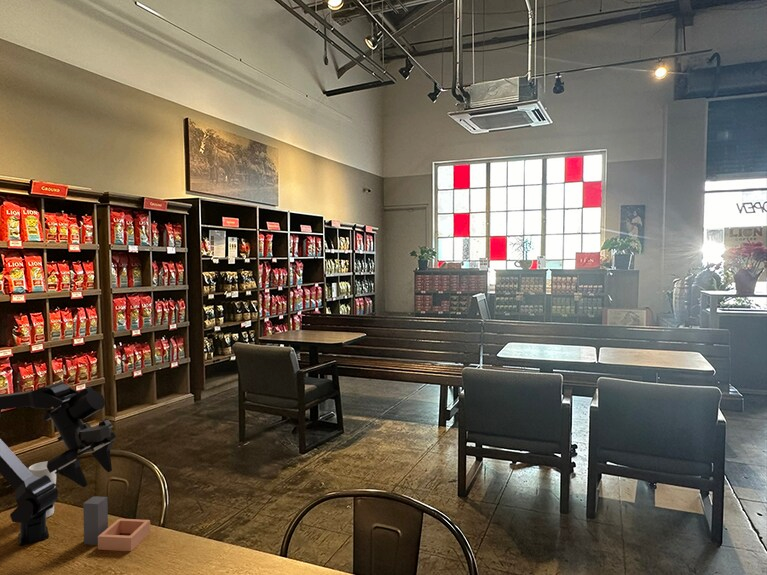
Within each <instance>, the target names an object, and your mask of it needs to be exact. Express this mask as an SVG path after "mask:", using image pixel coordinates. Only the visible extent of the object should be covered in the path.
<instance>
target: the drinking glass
mask: <svg viewBox="0 0 767 575" xmlns="http://www.w3.org/2000/svg"><path fill="white" fill-rule="evenodd" d="M48 461H49V460H47V461H42V462H37V463H33V464H32V465H30V466H29V467H27V469H28V470H29V471H30V472H31V473H32V474H33V475H34V476H36V477H39V478H41V477H42V476H44V475H47V476H48V477H49V478H50V480H51V481H52V482H53V483H54V484H56V486H57V474H55V472H56V471H57V470H55V471H53V472H51V473H50V472H49V470H48V469H47V462H48ZM56 486H55V487H56ZM56 488H57V487H56ZM54 512H55V504H54V505H53V508H50V509H49V510H47V511H46V519H48V518H49V517H51V516H53V514H54Z"/></svg>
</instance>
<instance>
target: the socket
mask: <svg viewBox="0 0 767 575" xmlns="http://www.w3.org/2000/svg"><path fill="white" fill-rule="evenodd" d="M120 534H123V535H120ZM124 534H125V535H124ZM126 534H130V535H126ZM149 534H151V520H150V519H138V518H137V519H135V518H134V519H133V518H118V519H117V520H116V521H114V522H113V523H112V524H110V526H108V528H107V529H106V530H105V531H104V532H102V533H101V534H100V535H99V536H98V545H97V550H98V551H99V550H102V551H119V552H120V551H121V552H132V551H133V550H134V549H135V548H136V547H137V546H138V545H139V544H140V543H141V542H142V541H144V539H145V538H146V537H147V536H149Z"/></svg>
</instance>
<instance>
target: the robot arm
mask: <svg viewBox="0 0 767 575" xmlns="http://www.w3.org/2000/svg"><path fill="white" fill-rule="evenodd" d="M105 406H106V401H105V398H104V395H103V394H101V393H100V392H99V391H97V390H94V389H93V387H92V386H87V387H86V388H84V389H82V390H81V391H79V390H76V389H74V388H72V387H70V386H68V385H67V384H66V382H62V381H59V382H55V383H52V384H49V385H46V386H42V387H40V388H36V389H33V390H26V391H19V392H13V393H11V392H10V393H4V394H0V417H2V416H1V413H2V412H1V411H2V410H10V409H17V408H24V407H31V408H34V409H43V410H45V415H44V416H43V419H42V420H43V422H46V421H49V420H51V421H52V423H53V424H54V426H55V428H56V430H57V432H58V435H59V436H58V437H56V439H57V441H58V442H61V441H62V442H63V443H64V445H65V447H66V449H67V450H65V451H64V452H63V453H60V454H59V455H57V456H56V457H54V458H52V459H50V460H47V461H48V462H47V461H46V462H47V469H48V470H49V472H50V473H51V472H53V471H55V470H56V472H55V474H56V475H57V474H58V475H61V476H63V477H65V478H67V479H69V480H71V481H73V483H76V484H77V485H79V486H81V487H82V488H86V487H87V486H88V481H87V478H86V476H85V474H84V472H83V471H82V470H83V469H82V468H81V466H80V465H81V461H82V460H81V458H78V457H79V456H81V455H83V454H85V453H87V452H90V451H92V452H91V453H90V454H91V455H92V457H93V458H94V459H95V460H96V462H98V464H99V465H100V466H101V467H102V468H103V469H104V470H105V471H106V472H107V473H111V472H113V467H112V459H111V448H112V446H113V444H115V439H116V438H117V436H116V434H115V432H114V431H112V430H114V426H113V425H112V423H111V421H110V420H109V419H103V420H101V421H99V422H98V425H95V426H91V425H90V423H88V422H86V423H84V421H83V420H86V419H87V418H89V417H90V416H92V415H94V414H96V413H97V412H99V411H102V409H104V408H105ZM46 409H47V410H46ZM0 475H1V476H2V477H3V478H4V479H5V480H6V482H7V483H8V484H9V485H10V486H11V487H12V488H13V489H14V492H15V493H14V494H15V496H14V497H15V503H16V505H17V506H16V508H15V509H14V510H13V511H12V512H11V513H10V514H9V516H10V519H11V522H12V523H19V525H20V526H19V528H20V529H19V531H20V533H18V535H17V537H18V546H24V545H27V544H31V543H34V542H38V541H42V540H45V539H49V538H50V533H49V529H48V526H47V518H46V511H47V510H49V509H50V508H53V505H54V506H55V503H56V501H57V500H58V496H59V494H58V493H59V490H58V488H57V487H55V486H57V483H56V484H54V483H53V482H52V481H51V480H50V478H49V477H48V476H47V475H44V476H42V477H41V478H39V477H36V476H34V475H33V474H32V473H31V472H30V471H29V470H28V467H27V466H26V465H25V464H24V463H23V462H22V460H20V458H18V457H17V455H16V454H15V453H14V452H13V451H12V450H11V449H10V447H9V446H8V445H7V444H6V443H5V442H4V441H3V439H1V438H0Z"/></svg>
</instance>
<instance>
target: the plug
mask: <svg viewBox="0 0 767 575" xmlns="http://www.w3.org/2000/svg"><path fill="white" fill-rule="evenodd" d="M108 501H109V500H108V496H97V495H95V496H92V497H90V498H89V499H87V500H86V501H84V502H83V504H82V505H83V507H82V508H83V509H82V510H83V512H82V513H83V545H95V546H98V536H99V535H100V534H101V533H102V532H104V531H105V530H106V529H107V528H108V527H109V517H108V516H109V514H108V513H109V512H108V511H109V510H108V509H109V508H108V506H109V505H108Z"/></svg>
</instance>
